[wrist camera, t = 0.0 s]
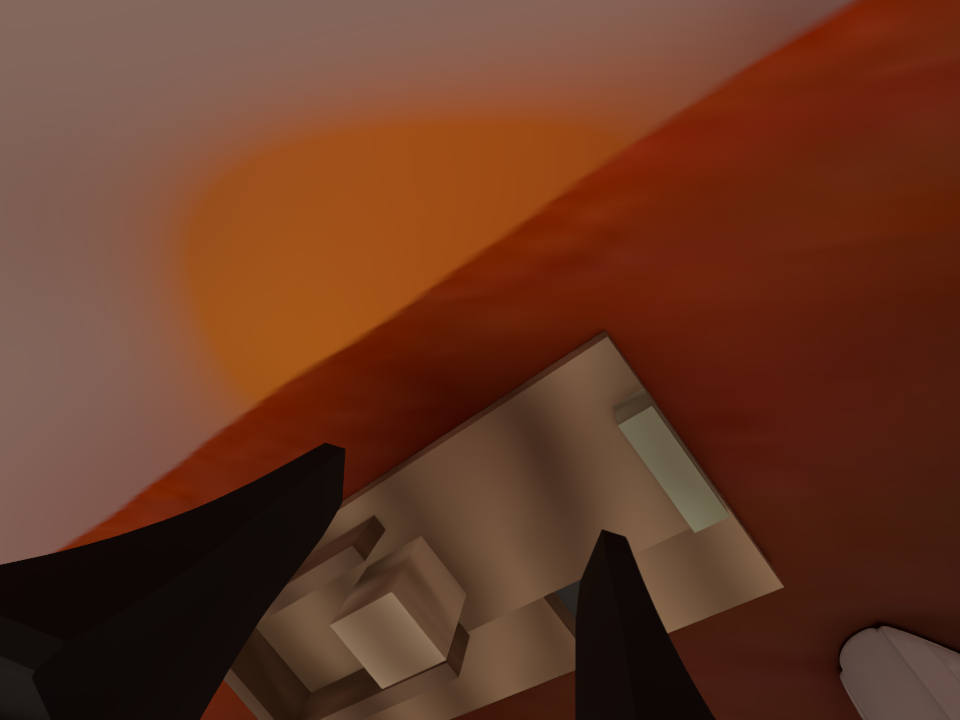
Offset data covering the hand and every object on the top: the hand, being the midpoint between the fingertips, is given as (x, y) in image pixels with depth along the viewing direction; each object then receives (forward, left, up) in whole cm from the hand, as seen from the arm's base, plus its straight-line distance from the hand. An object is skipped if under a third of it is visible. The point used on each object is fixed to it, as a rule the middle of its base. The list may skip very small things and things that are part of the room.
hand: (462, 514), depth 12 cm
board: (-8, -7, -11) cm, 15 cm away
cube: (-10, -5, -9) cm, 15 cm away
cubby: (-16, -5, -9) cm, 19 cm away
